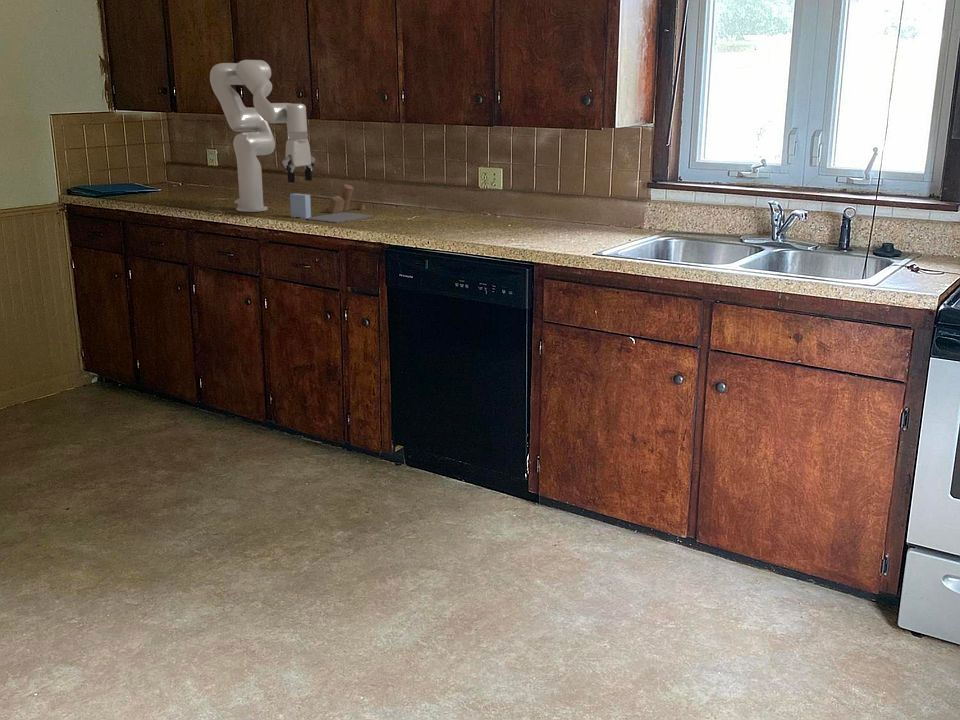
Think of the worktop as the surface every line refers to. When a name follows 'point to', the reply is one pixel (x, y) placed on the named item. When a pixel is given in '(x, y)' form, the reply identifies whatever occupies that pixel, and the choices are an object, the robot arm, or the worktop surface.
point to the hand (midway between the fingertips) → (300, 181)
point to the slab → (300, 205)
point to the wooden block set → (343, 201)
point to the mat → (340, 217)
